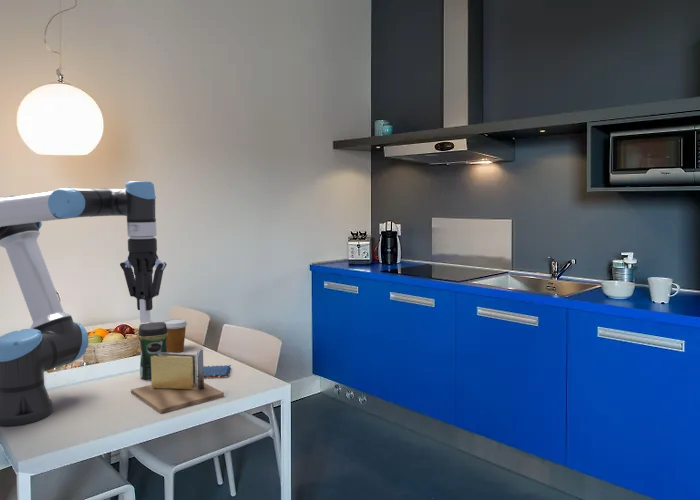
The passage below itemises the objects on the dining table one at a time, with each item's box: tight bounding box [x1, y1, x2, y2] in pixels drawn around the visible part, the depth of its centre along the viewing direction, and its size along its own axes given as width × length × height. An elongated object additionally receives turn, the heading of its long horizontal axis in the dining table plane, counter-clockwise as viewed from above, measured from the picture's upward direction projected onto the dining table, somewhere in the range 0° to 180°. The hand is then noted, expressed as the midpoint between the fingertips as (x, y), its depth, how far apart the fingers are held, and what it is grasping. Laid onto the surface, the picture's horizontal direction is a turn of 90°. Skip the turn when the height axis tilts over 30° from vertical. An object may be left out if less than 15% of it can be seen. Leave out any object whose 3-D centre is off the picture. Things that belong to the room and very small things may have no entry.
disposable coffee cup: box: [162, 318, 188, 353], centre depth 221 cm, size 10×10×12 cm
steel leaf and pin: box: [158, 348, 205, 390], centre depth 177 cm, size 16×3×14 cm, turn 77°
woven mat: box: [197, 364, 232, 380], centre depth 193 cm, size 10×11×2 cm
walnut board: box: [130, 378, 225, 414], centre depth 173 cm, size 20×22×1 cm
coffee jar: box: [137, 321, 168, 380], centre depth 190 cm, size 10×8×19 cm
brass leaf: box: [151, 355, 193, 389], centre depth 174 cm, size 13×1×10 cm, turn 84°
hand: (145, 321), depth 156 cm, fingers closed
